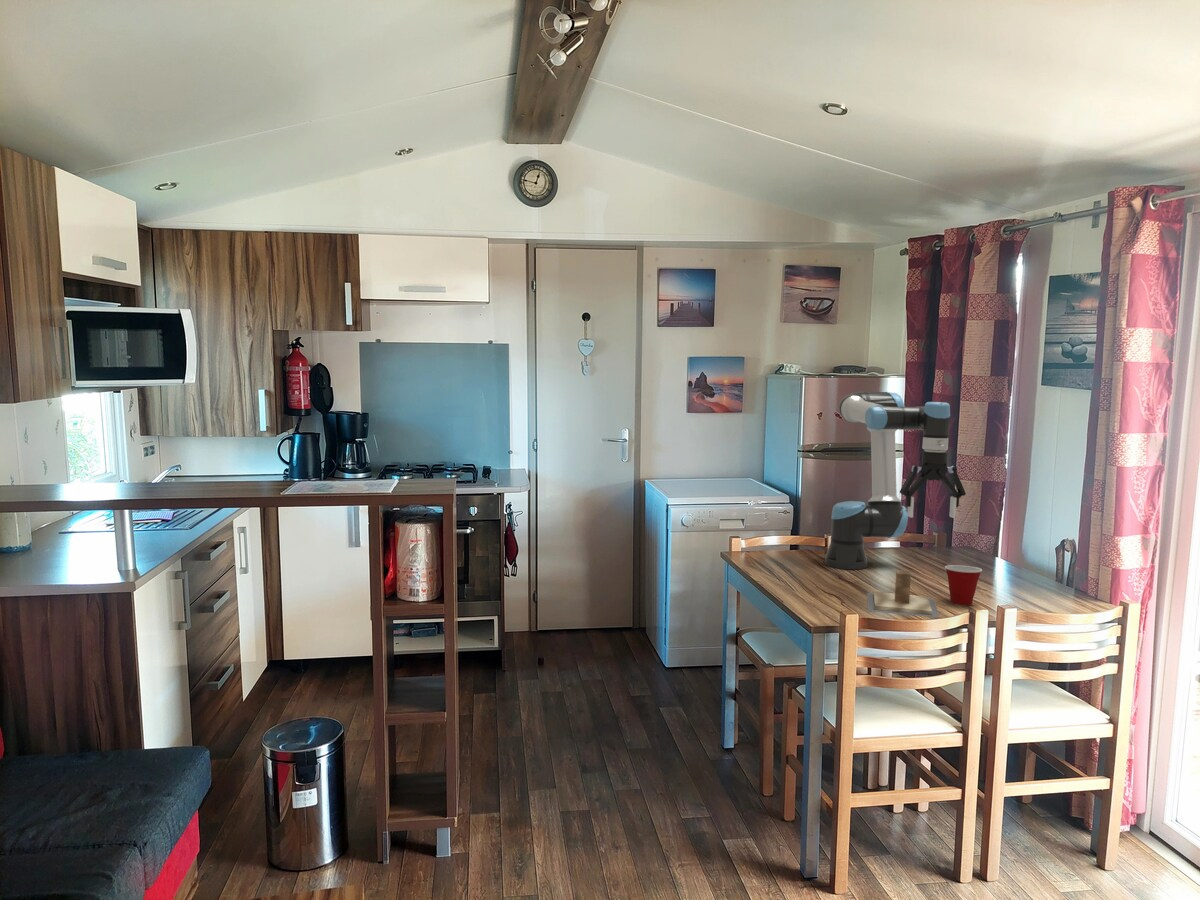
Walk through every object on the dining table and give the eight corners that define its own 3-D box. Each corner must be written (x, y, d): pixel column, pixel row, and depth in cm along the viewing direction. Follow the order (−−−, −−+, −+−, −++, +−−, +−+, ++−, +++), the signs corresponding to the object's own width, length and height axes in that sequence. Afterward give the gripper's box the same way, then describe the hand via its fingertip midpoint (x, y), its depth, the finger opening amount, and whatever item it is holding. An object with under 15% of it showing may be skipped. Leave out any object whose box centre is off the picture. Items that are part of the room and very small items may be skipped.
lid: (874, 609, 249) (876, 576, 248) (873, 595, 265) (875, 564, 263) (931, 615, 245) (933, 581, 244) (927, 600, 260) (929, 568, 259)
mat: (867, 613, 248) (867, 610, 248) (866, 595, 267) (867, 593, 267) (939, 620, 242) (939, 617, 242) (933, 601, 261) (933, 599, 261)
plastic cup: (972, 600, 264) (975, 563, 263) (985, 610, 253) (987, 571, 252) (937, 598, 265) (939, 561, 264) (948, 608, 254) (950, 570, 253)
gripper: (900, 451, 258) (896, 518, 260) (979, 452, 259) (975, 519, 261) (891, 449, 266) (888, 514, 268) (968, 450, 266) (964, 515, 268)
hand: (931, 517), depth 264 cm, fingers open, 13 cm apart
